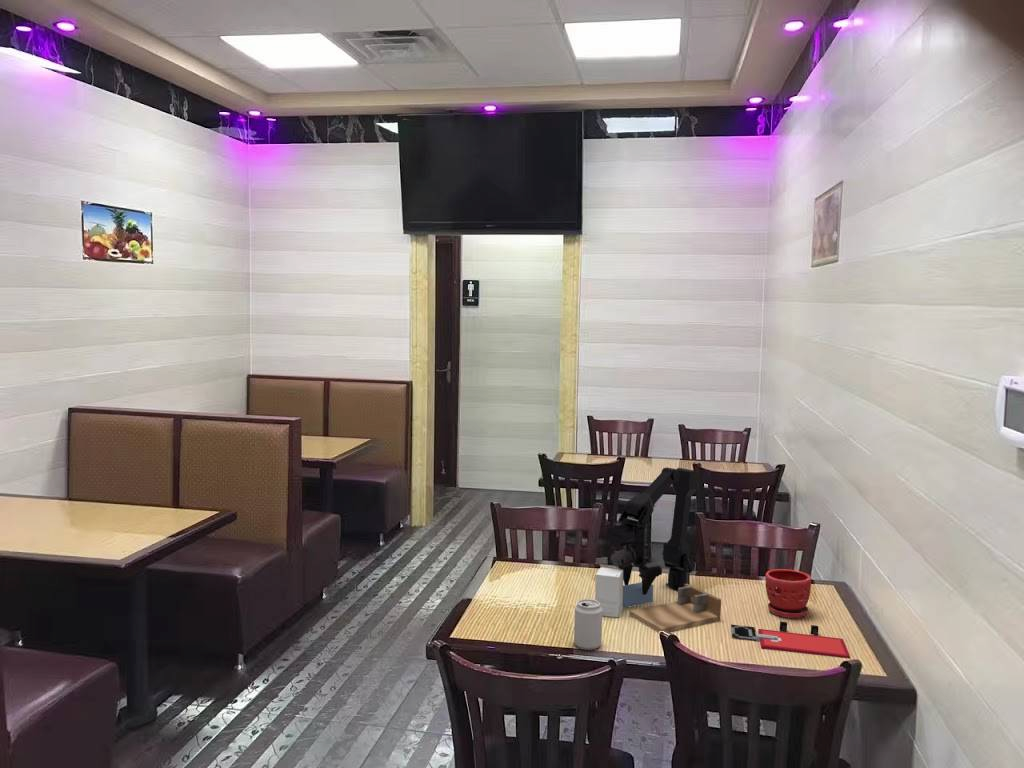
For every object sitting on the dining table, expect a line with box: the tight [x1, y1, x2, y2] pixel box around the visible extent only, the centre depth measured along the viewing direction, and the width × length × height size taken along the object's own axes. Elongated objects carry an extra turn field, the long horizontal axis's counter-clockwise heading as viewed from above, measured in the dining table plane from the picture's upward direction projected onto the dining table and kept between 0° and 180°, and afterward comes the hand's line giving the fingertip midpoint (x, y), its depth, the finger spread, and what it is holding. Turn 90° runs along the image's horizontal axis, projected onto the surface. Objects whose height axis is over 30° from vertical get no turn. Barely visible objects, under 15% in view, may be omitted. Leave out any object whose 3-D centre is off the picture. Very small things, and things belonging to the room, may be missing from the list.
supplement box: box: [594, 567, 624, 618], centre depth 234 cm, size 7×7×13 cm
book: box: [623, 581, 654, 609], centre depth 243 cm, size 11×4×6 cm, turn 119°
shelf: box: [629, 583, 722, 633], centre depth 231 cm, size 22×15×6 cm
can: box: [573, 598, 603, 651], centre depth 210 cm, size 8×8×12 cm
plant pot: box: [765, 568, 812, 619], centre depth 236 cm, size 13×13×12 cm
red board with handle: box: [730, 620, 851, 659], centre depth 216 cm, size 30×3×15 cm
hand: (635, 589), depth 243 cm, fingers open, 9 cm apart
